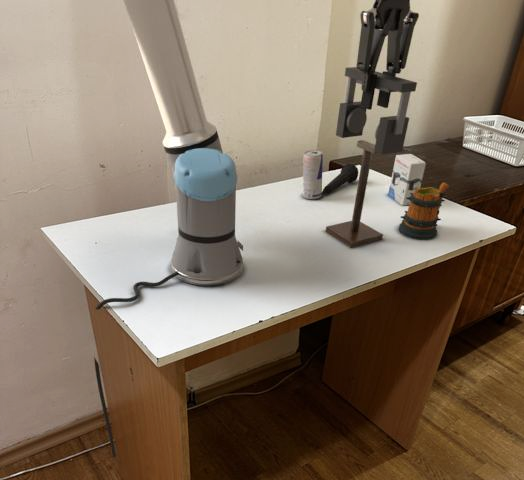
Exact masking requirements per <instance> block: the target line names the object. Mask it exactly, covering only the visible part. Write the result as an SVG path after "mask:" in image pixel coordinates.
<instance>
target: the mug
mask: <svg viewBox="0 0 524 480" xmlns="http://www.w3.org/2000/svg"><path fill="white" fill-rule="evenodd" d="M449 187H450V185H449V184H448V183H446V182H442V183H441V184H440V185H439V188H435V187H433V186H429V187H420V188H418V189H417V188H416V189H415V191H414V193H410V194H411V197H407V198H406V199H408V200H410V201H411V203H410V205H408V209H407V210H404V214H403V215H400V218H401V219H402V220H401V223H399V226H398V230H397V231H398V232H399V234H401V235H402V236H403V237H407V238H410V239H412V240H419V241H429V240H433V239H435V238H436V237H437V235H438V234H437V233H438V229H437V227H438V222H439V221H441V220H442V218H439V214H440V208H441V207H442V206H443V205H442V202H445V199H443V198H444V197H445V194H446V190H448V188H449Z"/></svg>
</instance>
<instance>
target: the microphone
mask: <svg viewBox="0 0 524 480" xmlns="http://www.w3.org/2000/svg"><path fill="white" fill-rule="evenodd" d="M358 178H359V169H358V167H357V166H356V165H355V164H350V163H347V164H344V165H343V166H342V167H341V169H340V173H339V174H338V175H337V176H336V177H334V178H333V179H332V180H331V181H330V182H329V183H327V184H326V185H325V186H324V188H322V195H321V197H323V196H325V195H329V194H331V193H333V192H334V191H335V190H337V189H339V188H340V187H342V186H344V185H345V184H346V183H347V184H348V183H349V184H351V183H354V182H356V181H357V179H358Z"/></svg>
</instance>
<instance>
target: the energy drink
mask: <svg viewBox="0 0 524 480" xmlns="http://www.w3.org/2000/svg"><path fill="white" fill-rule="evenodd" d="M323 159H324V156H323V152H322V151H320V150H315V149H311V150H306V151H304V152H303V155H302V196H303V198H305V199H308V200H316V199H317V200H318V199H319V198H322V196H321V195H322V191H323V163H324V162H323Z"/></svg>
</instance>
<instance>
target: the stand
mask: <svg viewBox="0 0 524 480" xmlns="http://www.w3.org/2000/svg"><path fill="white" fill-rule="evenodd" d="M356 147H357V148H359V149H362V150H363V152H362V157H361V162H360V163H361V164H360V170H359V174H358V182H357V188H356V193H355V200H354V206H353V213H352V217H351V220H348V221H345V222H340V223H336V224H332V225H326V227H325V233H326V234H329V235H330V236H331V237H334V238H335V239H336V240H338V241H340V242H341V243H343V244H344V245H345V246H347V247H349V248H355V247H359V246H363V245H368V244H370V243H373V242H374V243H375V242H378V241H382V240H383V237H384V234H383V233H382V232H379V231H378V230H376V229H375V228H372V227H370V226H369V225H367V224H366V223H364V222H362V221H361V219H362V213H363V207H364V203H365V202H364V201H365V196H366V190H367V185H368V180H369V175H370V168H371V164H372V163H371V162H372V157H373V154H374V155H377V154H378V153H376V152H374V149H375V144H374V143H371V142H369V141H366V140H364V139H363V140H357V141H356Z"/></svg>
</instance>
